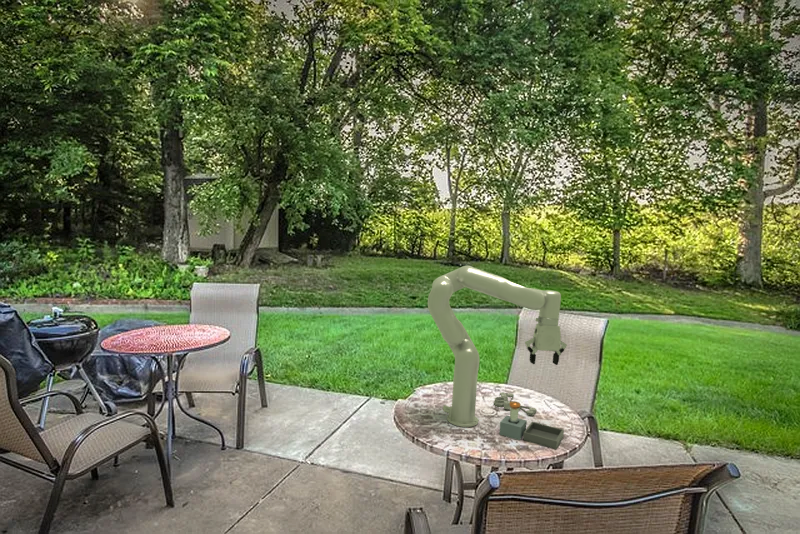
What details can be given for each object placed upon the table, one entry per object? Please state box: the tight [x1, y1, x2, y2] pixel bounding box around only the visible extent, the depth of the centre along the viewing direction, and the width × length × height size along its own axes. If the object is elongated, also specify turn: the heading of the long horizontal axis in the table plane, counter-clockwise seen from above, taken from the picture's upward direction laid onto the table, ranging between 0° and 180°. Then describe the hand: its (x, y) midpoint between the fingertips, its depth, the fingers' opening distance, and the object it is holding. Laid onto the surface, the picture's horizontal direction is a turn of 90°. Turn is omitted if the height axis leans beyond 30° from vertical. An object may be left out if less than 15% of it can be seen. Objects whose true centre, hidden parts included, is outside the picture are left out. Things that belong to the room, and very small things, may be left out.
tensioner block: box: [498, 415, 528, 441], centre depth 179 cm, size 8×8×5 cm
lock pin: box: [509, 400, 521, 424], centre depth 179 cm, size 4×4×12 cm
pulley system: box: [493, 391, 538, 417], centre depth 209 cm, size 27×5×15 cm
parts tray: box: [522, 421, 565, 450], centre depth 176 cm, size 12×12×3 cm
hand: (543, 363), depth 185 cm, fingers open, 9 cm apart
